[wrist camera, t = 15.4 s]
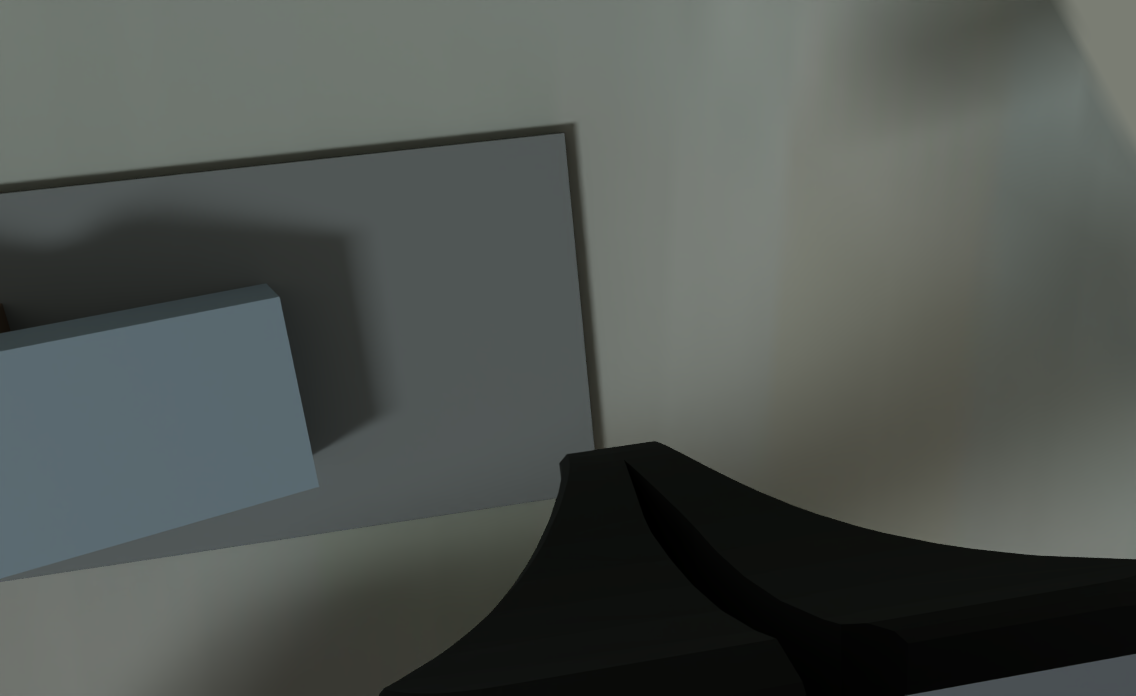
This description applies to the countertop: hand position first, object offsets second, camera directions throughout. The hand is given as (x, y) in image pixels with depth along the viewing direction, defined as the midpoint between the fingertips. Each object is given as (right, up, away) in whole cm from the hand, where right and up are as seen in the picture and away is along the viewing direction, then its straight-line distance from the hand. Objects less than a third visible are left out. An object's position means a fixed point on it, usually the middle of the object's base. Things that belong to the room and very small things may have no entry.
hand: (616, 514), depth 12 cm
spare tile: (-7, +1, +8) cm, 11 cm away
